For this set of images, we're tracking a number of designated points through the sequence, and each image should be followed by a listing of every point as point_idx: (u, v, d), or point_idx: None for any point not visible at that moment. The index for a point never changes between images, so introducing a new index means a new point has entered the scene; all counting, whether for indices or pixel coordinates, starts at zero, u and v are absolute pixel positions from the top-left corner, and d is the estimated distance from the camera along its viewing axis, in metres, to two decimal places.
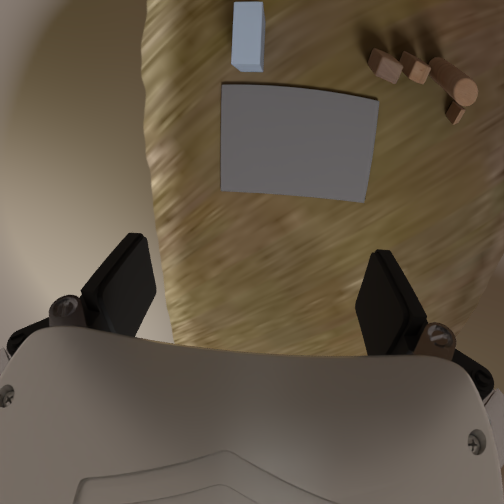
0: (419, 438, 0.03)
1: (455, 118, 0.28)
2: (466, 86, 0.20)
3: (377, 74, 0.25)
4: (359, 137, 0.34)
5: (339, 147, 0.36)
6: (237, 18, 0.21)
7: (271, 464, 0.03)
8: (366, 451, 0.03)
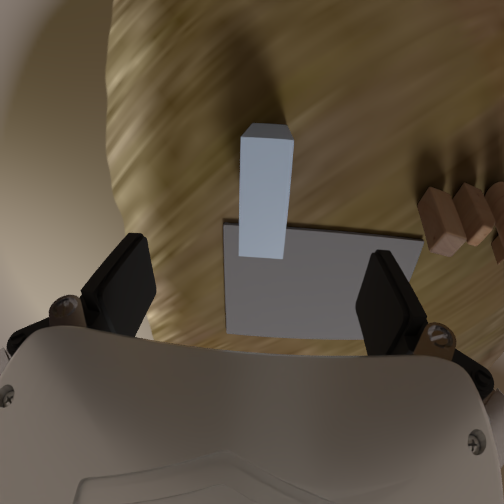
0: (419, 438, 0.03)
1: (502, 258, 0.23)
2: None
3: (432, 251, 0.21)
4: None
5: None
6: (247, 174, 0.16)
7: (271, 464, 0.03)
8: (366, 451, 0.03)
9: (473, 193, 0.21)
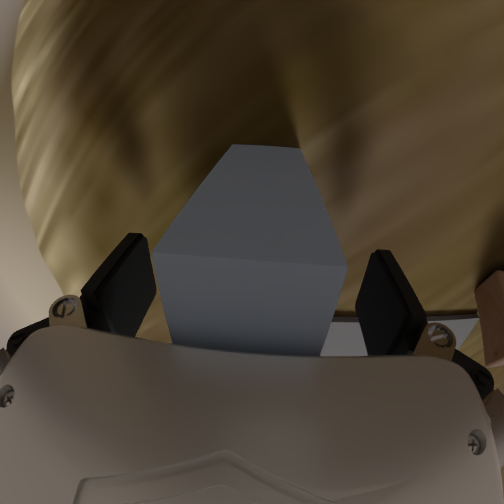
0: (419, 438, 0.03)
1: None
2: None
3: (489, 366, 0.12)
4: None
5: None
6: None
7: (271, 464, 0.03)
8: (366, 451, 0.03)
9: None
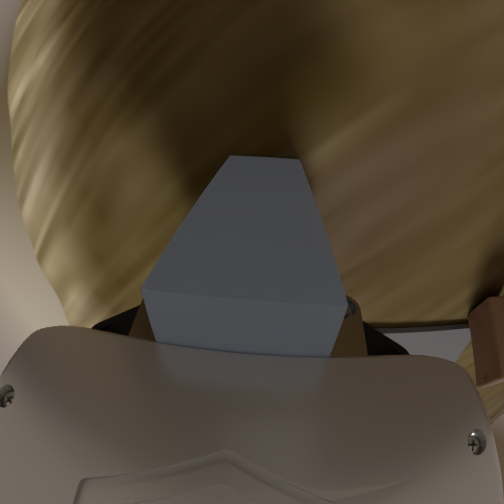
0: (419, 438, 0.03)
1: None
2: None
3: (480, 388, 0.12)
4: None
5: None
6: None
7: (271, 464, 0.03)
8: (366, 451, 0.03)
9: None
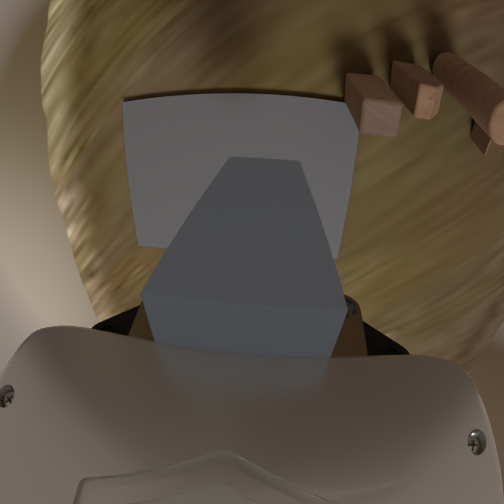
0: (419, 438, 0.03)
1: (486, 145, 0.17)
2: None
3: (363, 132, 0.17)
4: (328, 164, 0.23)
5: None
6: None
7: (271, 464, 0.03)
8: (366, 451, 0.03)
9: (405, 66, 0.16)
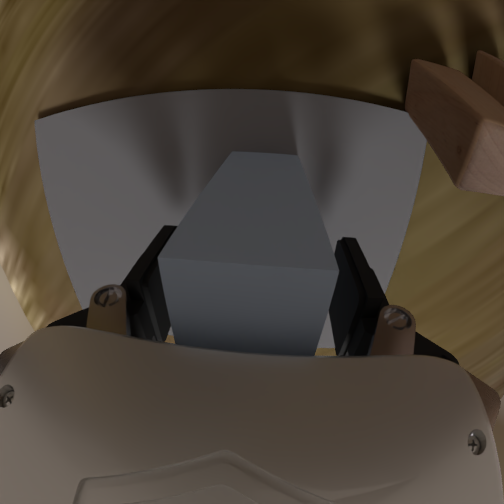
0: (419, 438, 0.03)
1: None
2: None
3: (463, 185, 0.07)
4: (368, 221, 0.13)
5: None
6: None
7: (271, 464, 0.03)
8: (366, 451, 0.03)
9: (501, 62, 0.06)
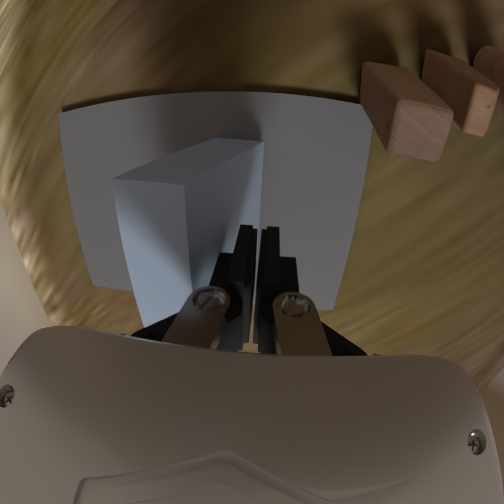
0: (419, 438, 0.03)
1: None
2: None
3: (393, 152, 0.11)
4: (325, 191, 0.17)
5: (281, 215, 0.18)
6: (129, 238, 0.09)
7: (271, 464, 0.03)
8: (366, 451, 0.03)
9: (445, 57, 0.10)
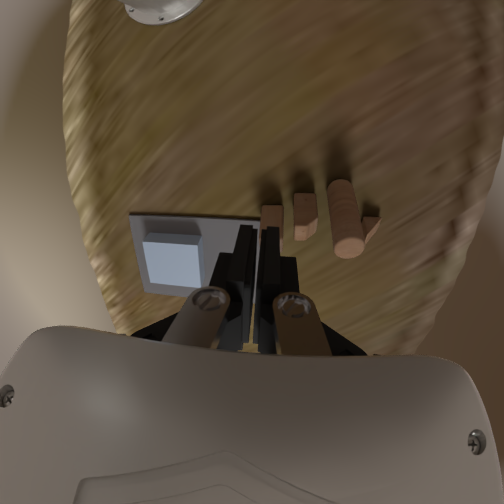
0: (419, 438, 0.03)
1: (364, 241, 0.38)
2: (347, 245, 0.30)
3: None
4: None
5: None
6: None
7: (270, 464, 0.03)
8: (366, 451, 0.03)
9: (299, 200, 0.36)
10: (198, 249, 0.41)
